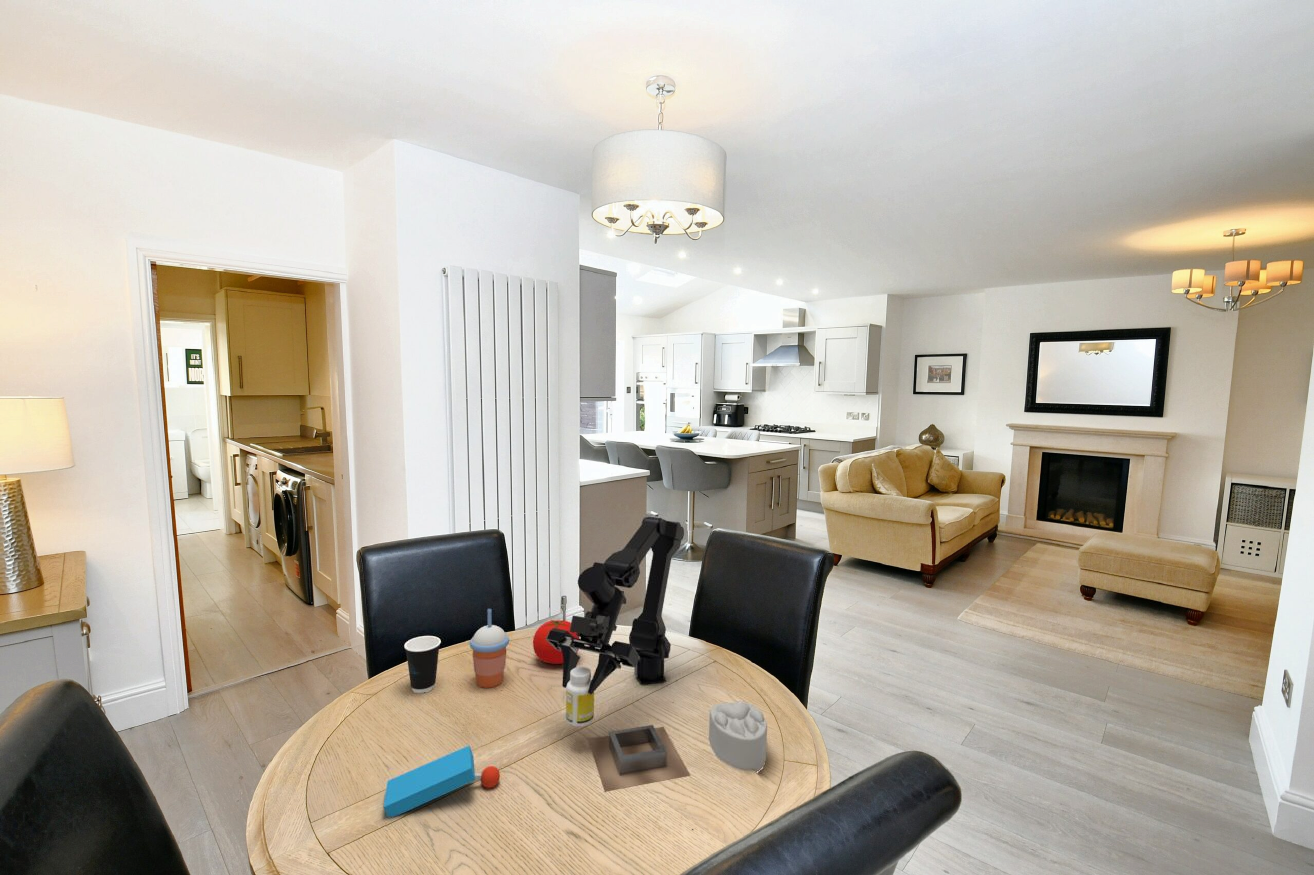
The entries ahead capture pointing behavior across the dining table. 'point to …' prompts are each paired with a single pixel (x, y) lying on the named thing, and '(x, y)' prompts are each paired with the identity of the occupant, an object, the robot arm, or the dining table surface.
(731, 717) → the lumpy-topped squat cylinder
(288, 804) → the dining table surface
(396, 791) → the lever
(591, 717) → the supplement bottle
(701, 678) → the dining table surface
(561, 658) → the tomato
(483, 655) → the cup with straw
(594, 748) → the walnut board
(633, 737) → the metal collar
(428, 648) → the dixie cup
